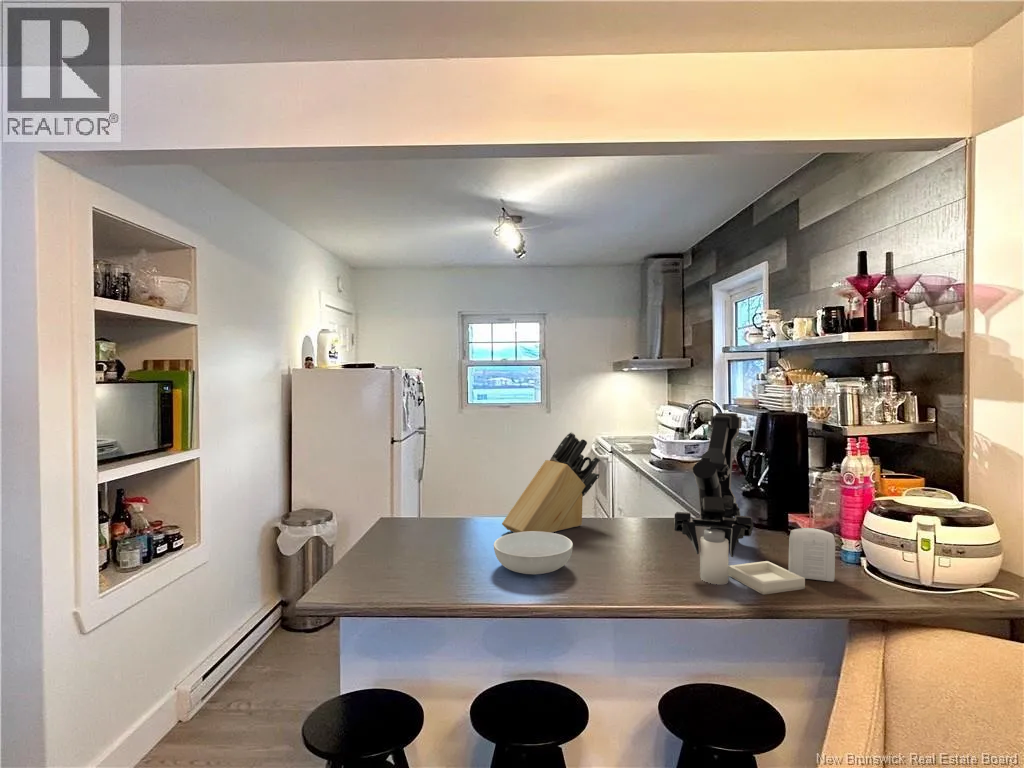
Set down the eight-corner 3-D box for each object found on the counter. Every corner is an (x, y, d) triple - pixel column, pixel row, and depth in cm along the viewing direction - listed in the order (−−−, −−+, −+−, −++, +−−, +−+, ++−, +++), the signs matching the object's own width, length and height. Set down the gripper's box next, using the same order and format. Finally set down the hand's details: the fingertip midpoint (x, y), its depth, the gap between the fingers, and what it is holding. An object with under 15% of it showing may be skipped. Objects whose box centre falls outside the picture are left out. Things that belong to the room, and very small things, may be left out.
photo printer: (832, 576, 132) (832, 528, 132) (837, 583, 128) (837, 533, 128) (786, 572, 135) (787, 524, 135) (790, 578, 131) (790, 529, 131)
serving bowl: (531, 549, 154) (531, 526, 154) (588, 568, 139) (588, 542, 139) (477, 568, 139) (477, 542, 139) (535, 591, 124) (535, 562, 124)
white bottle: (716, 572, 135) (717, 526, 135) (734, 582, 129) (734, 534, 128) (694, 575, 133) (694, 528, 133) (711, 585, 127) (711, 536, 127)
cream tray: (767, 570, 137) (767, 560, 136) (804, 588, 125) (804, 578, 125) (728, 575, 133) (728, 565, 133) (763, 594, 122) (763, 584, 122)
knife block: (602, 521, 182) (602, 432, 181) (522, 541, 161) (522, 441, 160) (579, 514, 191) (579, 429, 190) (501, 532, 170) (500, 437, 169)
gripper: (674, 481, 137) (676, 536, 126) (752, 484, 132) (760, 542, 121) (673, 503, 144) (674, 557, 134) (746, 508, 140) (754, 564, 129)
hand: (714, 554), depth 129 cm, fingers open, 8 cm apart
